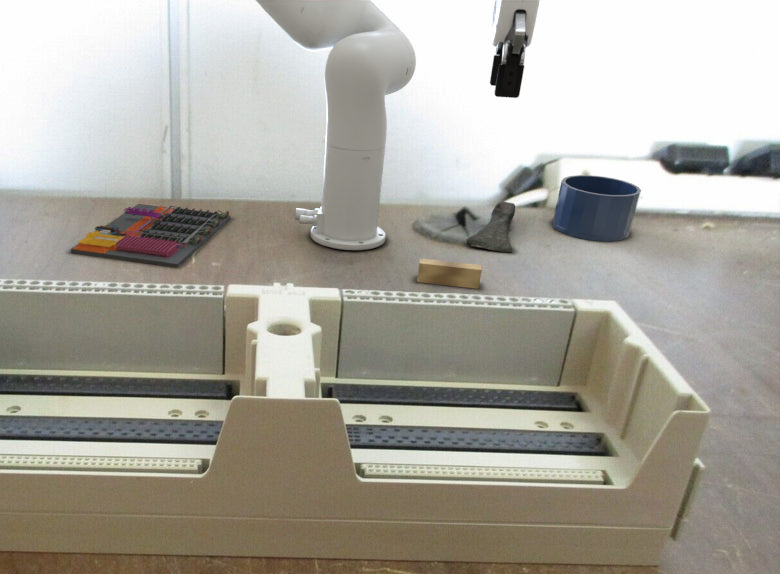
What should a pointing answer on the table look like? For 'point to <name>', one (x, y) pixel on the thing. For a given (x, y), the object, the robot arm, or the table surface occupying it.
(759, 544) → the table surface
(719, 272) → the table surface
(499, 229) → the tool
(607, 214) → the blue open cylinder
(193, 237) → the circuit board
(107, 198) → the table surface
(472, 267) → the wooden rectangular block
